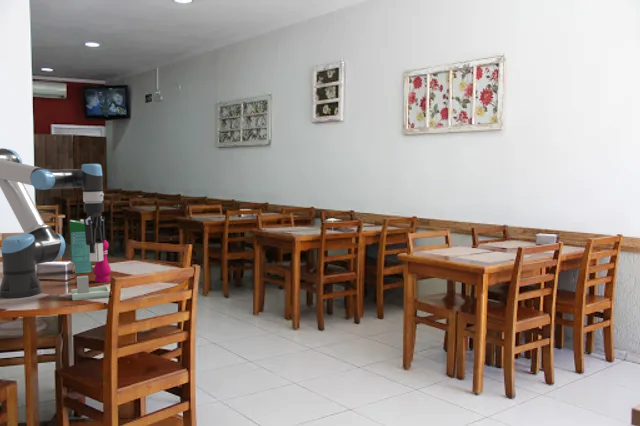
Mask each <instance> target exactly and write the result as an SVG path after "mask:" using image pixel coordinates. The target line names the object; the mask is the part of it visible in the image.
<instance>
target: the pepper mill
mask: <svg viewBox="0 0 640 426" xmlns="http://www.w3.org/2000/svg"><path fill="white" fill-rule="evenodd" d="M104 241H105V242H104V243H103V259H104V260H102V261H99V262H95V265H94V267H93V275H94V276H95V277H94V281H95V283H108V282H110V281H111V277H110V276H109V275H110V274H111V273H112V269H111V265H110V264H109V262H108V249H109V242H108V241H107V240H106V239H105V240H104ZM95 243H96V241H95Z"/></svg>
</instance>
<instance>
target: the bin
mask: <svg viewBox="0 0 640 426" xmlns="http://www.w3.org/2000/svg"><path fill="white" fill-rule="evenodd" d="M110 290H111V288H110V286H109V285H107V286H93V287H92V286H91V287H89V293H82V294H77V288H72V289H71V290H70V292H71V300H72V301H82V300H94V299H105V298H110V297H109V292H110Z"/></svg>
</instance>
